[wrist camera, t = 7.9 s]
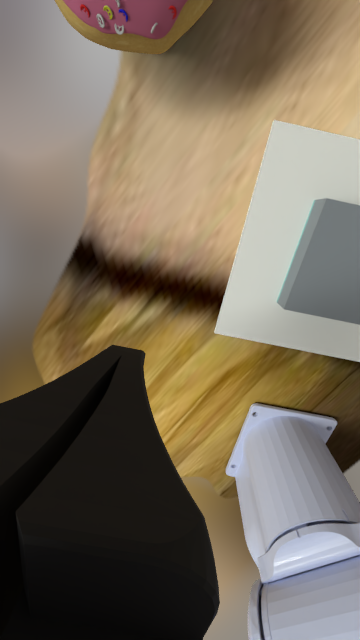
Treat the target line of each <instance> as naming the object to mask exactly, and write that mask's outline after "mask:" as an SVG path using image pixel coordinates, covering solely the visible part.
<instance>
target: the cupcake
mask: <svg viewBox="0 0 360 640" xmlns="http://www.w3.org/2000/svg"><path fill="white" fill-rule="evenodd" d="M213 1H214V0H55V2H56V3H57V5H58V7H59V9H60V10H61V12H62V14H63V15H64V17H65V18H66V20H67V21H68V22H69V24H70V25H71V26H72V27H73V28H74V29H76V30H77V31H78V32H79V33H80V34H81V35H83V36H84V37H85V38H87V39H89V40H90V41H93V42H95V43H97V44H99V45H102V46H105V47H107V48H111V49H115V50H121V51H128V52H137V53H147V54H161V53H164V52H166V51H167V50H168V49H169V48H170V47H171V46H172V45H173V44H174V43H175V42H176V41H177V40H178V39H179V38H180V37H181V36H182V35H183V34H184V33H186V32H187V31H188V30H189V29H190V28H191V27H192V26H193V25H194V24H195V22H196V21H197V20H198V19H199V18H200V17H201V16H202V14H203V13H204V12H205V11H206V10H207V8H208V7H209V6H210V5H211V3H212V2H213Z"/></svg>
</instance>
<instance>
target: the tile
mask: <svg viewBox="0 0 360 640" xmlns="http://www.w3.org/2000/svg"><path fill="white" fill-rule="evenodd" d="M277 303H278V304H279V305H280V306H281V307H282V308H283V309H285V310H290V311H294V312H299V313H304V314H309V315H314V316H319V317H324V318H329V319H334V320H339V321H344V322H349V323H353V324H358V325H360V205H356V204H351V203H347V202H342V201H338V200H333V199H328V198H324V199H317V200H314V202H313V204H312V207H311V210H310V212H309V215H308V218H307V220H306V223H305V226H304V229H303V231H302V234H301V237H300V239H299V242H298V245H297V248H296V250H295V253H294V256H293V258H292V261H291V264H290V266H289V269H288V272H287V275H286V277H285V280H284V283H283V285H282V288H281V291H280V293H279V296H278V299H277Z"/></svg>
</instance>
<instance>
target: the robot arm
mask: <svg viewBox="0 0 360 640" xmlns="http://www.w3.org/2000/svg"><path fill="white" fill-rule="evenodd" d="M144 359H145V353H144V351H142V350H137V349H131V348H126V347H121V346H116V345H112V346H110V347H108V348H107V349H105V350H104V351H102V352H101V353H99V354H98V355H96V356H94V357H93V358H91V359H90V360H88V361H87V362H85V363H83V364H82V365H80V366H79V367H77V368H75V369H74V370H72V371H70V372H68V373H66V374H65V375H63V376H61V377H59V378H57V379H55V380H54V381H52V382H50V383H48V384H46V385H43V386H41V387H39V388H37V389H35V390H33V391H30V392H28V393H26V394H24V395H21V396H19V397H17V398H14V399H11V400H9V401H6V402H3V403H0V640H203V637H204V635H205V633H206V632H207V630H208V628H209V626H210V625H211V623H212V621H213V619H214V618H215V616H216V614H217V611H218V607H219V603H220V601H219V587H218V580H217V574H216V567H215V561H214V556H213V551H212V546H211V542H210V538H209V534H208V530H207V526H206V523H205V518H204V516H203V514H202V513H201V511H200V510H199V508H198V506H197V505H196V503H195V502H194V500H193V498H192V497H191V495H190V493H189V491H188V490H187V488H186V486H185V485H184V483H183V481H182V480H181V478H180V476H179V474H178V472H177V470H176V468H175V466H174V464H173V463H172V460H171V458H170V456H169V454H168V452H167V450H166V447H165V445H164V443H163V441H162V439H161V436H160V434H159V431H158V429H157V426H156V423H155V421H154V418H153V415H152V411H151V408H150V404H149V400H148V396H147V392H146V387H145V380H144V370H143V365H144ZM254 412H256V413H255V414H253V413H254ZM336 425H337V421H336V420H335V419H334V418H332V417H327V416H322V415H316V414H311V413H306V412H301V411H295V410H290V409H285V408H279V407H274V406H269V405H264V404H258V403H255V404H252V405H251V407H250V409H249V412H248V414H247V417H246V419H245V422H244V424H243V427H242V429H241V432H240V434H239V437H238V439H237V442H236V444H235V447H234V449H233V452H232V455H231V457H230V460H229V462H228V465H227V467H226V474H227V475H229V476H233V477H235V478H236V484H237V490H238V496H239V503H240V509H241V515H242V520H243V526H244V533H245V538H246V543H247V546H248V549H249V552H250V554H251V556H252V558H253V560H254V561H255V563H256V565H257V566H258V568H259V571H260V576H261V579H258V580H256V581H255V582H254V584H253V586H252V589H251V593H250V599H249V607H248V634H249V640H360V502H359V501H358V499H357V497H356V495H355V494H354V492H353V490H352V489H351V487H350V485H349V484H348V482H347V480H346V478H345V477H344V475H343V473H342V472H341V470H340V468H339V466H338V465H337V463H336V461H335V460H334V458H333V456H332V455H331V453H330V451H329V449H328V448H327V446H326V442H327V440H328V439H329V437H330V435H331V434H332V432H333V430H334V429H335V427H336Z"/></svg>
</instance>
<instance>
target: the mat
mask: <svg viewBox="0 0 360 640" xmlns="http://www.w3.org/2000/svg"><path fill="white" fill-rule="evenodd" d="M324 198H328V199H333V200H338V201H342V202H347V203H351V204H356V205H360V139H355V138H351V137H347V136H342V135H338V134H334V133H329V132H325V131H321V130H316V129H312V128H307V127H303V126H299V125H294V124H290V123H286V122H281V121H277V120H274V121H273V123H272V126H271V130H270V133H269V137H268V141H267V144H266V148H265V151H264V155H263V159H262V162H261V166H260V169H259V173H258V176H257V180H256V184H255V187H254V191H253V194H252V198H251V202H250V205H249V209H248V212H247V216H246V220H245V223H244V227H243V230H242V234H241V237H240V241H239V245H238V248H237V252H236V255H235V259H234V263H233V266H232V270H231V273H230V277H229V280H228V284H227V288H226V291H225V295H224V298H223V302H222V306H221V309H220V313H219V316H218V320H217V324H216V327H215V331H214V333H216V334H221V335H226V336H231V337H236V338H241V339H246V340H251V341H257V342H262V343H267V344H272V345H277V346H282V347H287V348H292V349H297V350H302V351H307V352H312V353H317V354H322V355H327V356H332V357H337V358H342V359H347V360H352V361H357V362H360V325H358V324H353V323H349V322H344V321H339V320H334V319H329V318H324V317H319V316H314V315H309V314H304V313H299V312H294V311H290V310H285V309H283V308H282V307H281V306H280V305H279V304H278V303H277V299H278V296H279V293H280V291H281V288H282V285H283V283H284V280H285V277H286V275H287V272H288V269H289V266H290V264H291V261H292V258H293V256H294V253H295V250H296V248H297V245H298V242H299V239H300V237H301V234H302V231H303V229H304V226H305V223H306V220H307V218H308V215H309V212H310V210H311V207H312V204H313V202H314V200H317V199H324Z"/></svg>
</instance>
